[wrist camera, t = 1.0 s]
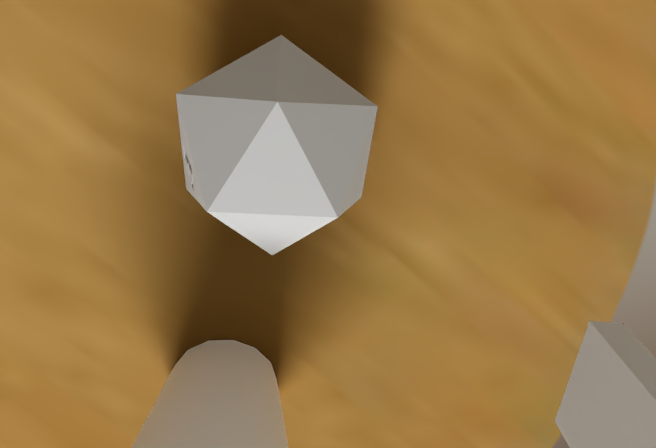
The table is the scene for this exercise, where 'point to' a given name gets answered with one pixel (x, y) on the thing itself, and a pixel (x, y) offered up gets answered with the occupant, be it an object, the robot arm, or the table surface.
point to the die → (275, 144)
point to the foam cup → (217, 401)
